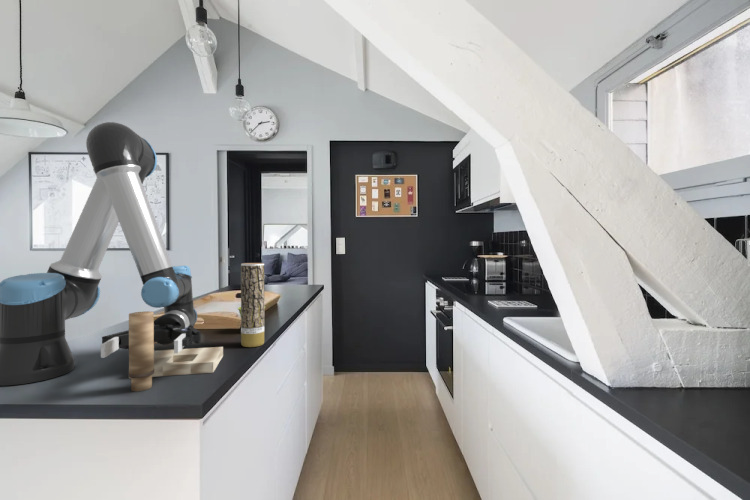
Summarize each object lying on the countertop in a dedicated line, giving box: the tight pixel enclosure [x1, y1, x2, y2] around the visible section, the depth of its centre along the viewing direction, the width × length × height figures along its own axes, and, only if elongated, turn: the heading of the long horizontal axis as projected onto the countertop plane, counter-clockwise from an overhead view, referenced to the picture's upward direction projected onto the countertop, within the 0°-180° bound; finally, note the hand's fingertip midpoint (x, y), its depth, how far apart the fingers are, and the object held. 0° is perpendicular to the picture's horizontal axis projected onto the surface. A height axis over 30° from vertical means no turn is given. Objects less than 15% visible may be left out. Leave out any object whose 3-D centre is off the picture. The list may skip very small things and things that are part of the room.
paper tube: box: [240, 262, 265, 348], centre depth 115 cm, size 7×7×25 cm
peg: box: [128, 310, 155, 392], centre depth 80 cm, size 5×5×16 cm
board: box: [128, 346, 224, 379], centre depth 95 cm, size 18×14×2 cm
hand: (140, 348), depth 78 cm, fingers open, 13 cm apart
